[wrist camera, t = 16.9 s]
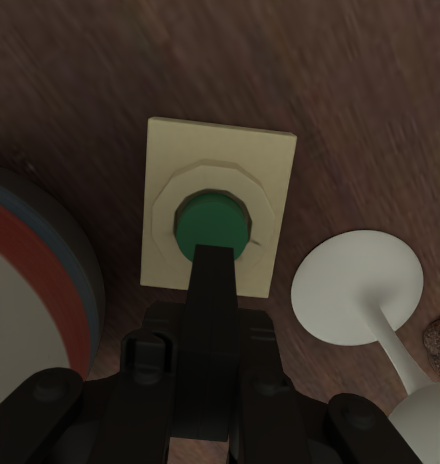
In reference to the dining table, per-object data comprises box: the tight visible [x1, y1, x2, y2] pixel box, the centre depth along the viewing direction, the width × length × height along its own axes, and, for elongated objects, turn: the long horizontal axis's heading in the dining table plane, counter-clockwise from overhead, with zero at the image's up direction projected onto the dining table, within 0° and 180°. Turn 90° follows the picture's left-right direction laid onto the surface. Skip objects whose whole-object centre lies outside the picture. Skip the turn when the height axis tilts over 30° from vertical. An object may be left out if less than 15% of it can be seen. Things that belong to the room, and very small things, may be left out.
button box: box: [140, 116, 297, 298], centre depth 22 cm, size 10×8×4 cm
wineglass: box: [291, 230, 440, 464], centre depth 16 cm, size 9×9×21 cm
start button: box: [176, 193, 248, 263], centre depth 20 cm, size 4×4×2 cm
